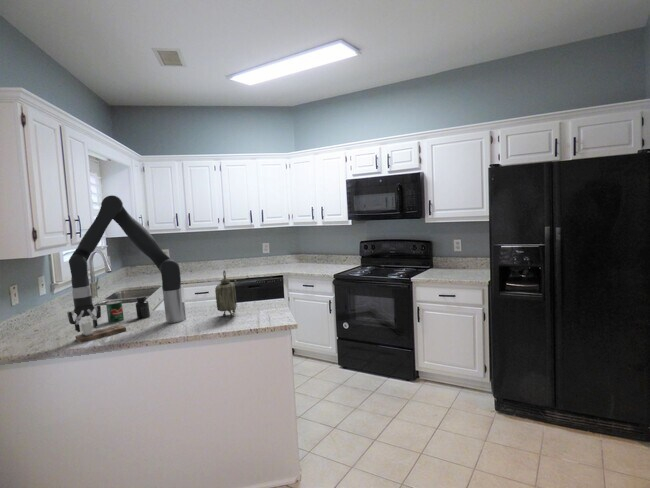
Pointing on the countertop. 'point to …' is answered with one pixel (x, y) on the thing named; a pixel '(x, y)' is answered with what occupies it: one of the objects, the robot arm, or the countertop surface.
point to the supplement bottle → (142, 308)
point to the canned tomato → (115, 311)
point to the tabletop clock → (226, 296)
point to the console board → (101, 333)
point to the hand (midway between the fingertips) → (86, 329)
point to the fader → (87, 328)
